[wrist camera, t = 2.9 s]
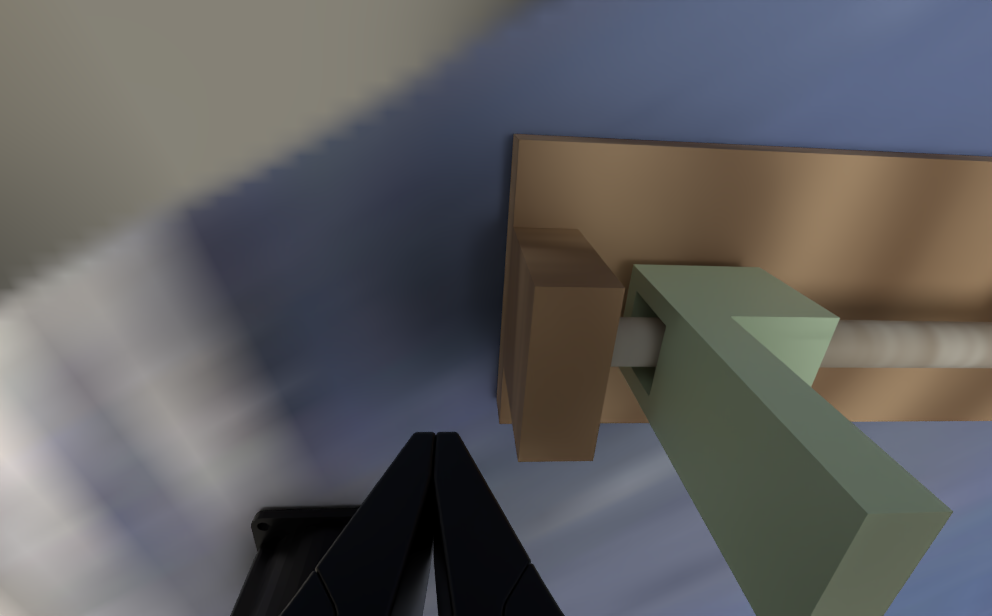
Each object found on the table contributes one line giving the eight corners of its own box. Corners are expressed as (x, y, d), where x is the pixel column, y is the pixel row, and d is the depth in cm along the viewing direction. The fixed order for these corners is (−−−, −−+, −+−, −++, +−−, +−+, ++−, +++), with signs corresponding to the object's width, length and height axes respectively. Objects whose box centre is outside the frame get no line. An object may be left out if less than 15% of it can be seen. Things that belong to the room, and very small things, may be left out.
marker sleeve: (615, 360, 16) (783, 664, 7) (633, 264, 14) (867, 513, 6) (729, 361, 16) (1008, 651, 8) (759, 267, 14) (1141, 507, 6)
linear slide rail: (496, 398, 19) (511, 528, 13) (513, 133, 14) (546, 166, 9) (1034, 398, 21) (1234, 509, 15) (1192, 166, 16) (1547, 208, 11)
